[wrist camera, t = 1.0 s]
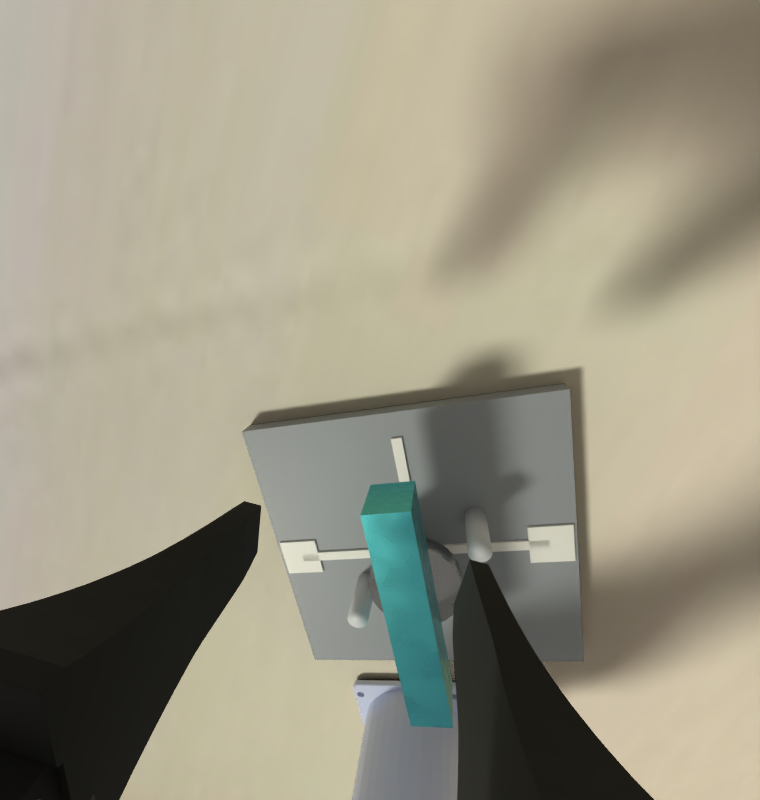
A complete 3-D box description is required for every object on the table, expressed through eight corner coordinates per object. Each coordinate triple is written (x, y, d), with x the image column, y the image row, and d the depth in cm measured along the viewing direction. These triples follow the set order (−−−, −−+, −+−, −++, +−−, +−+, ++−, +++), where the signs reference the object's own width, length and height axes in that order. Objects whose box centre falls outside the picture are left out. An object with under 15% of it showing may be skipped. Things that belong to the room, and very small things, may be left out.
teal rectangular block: (475, 659, 23) (480, 729, 19) (393, 659, 24) (384, 725, 20) (444, 465, 19) (444, 509, 16) (348, 475, 20) (329, 517, 17)
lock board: (578, 646, 25) (602, 713, 21) (319, 646, 29) (300, 703, 25) (564, 383, 20) (591, 410, 16) (250, 425, 24) (213, 454, 20)
